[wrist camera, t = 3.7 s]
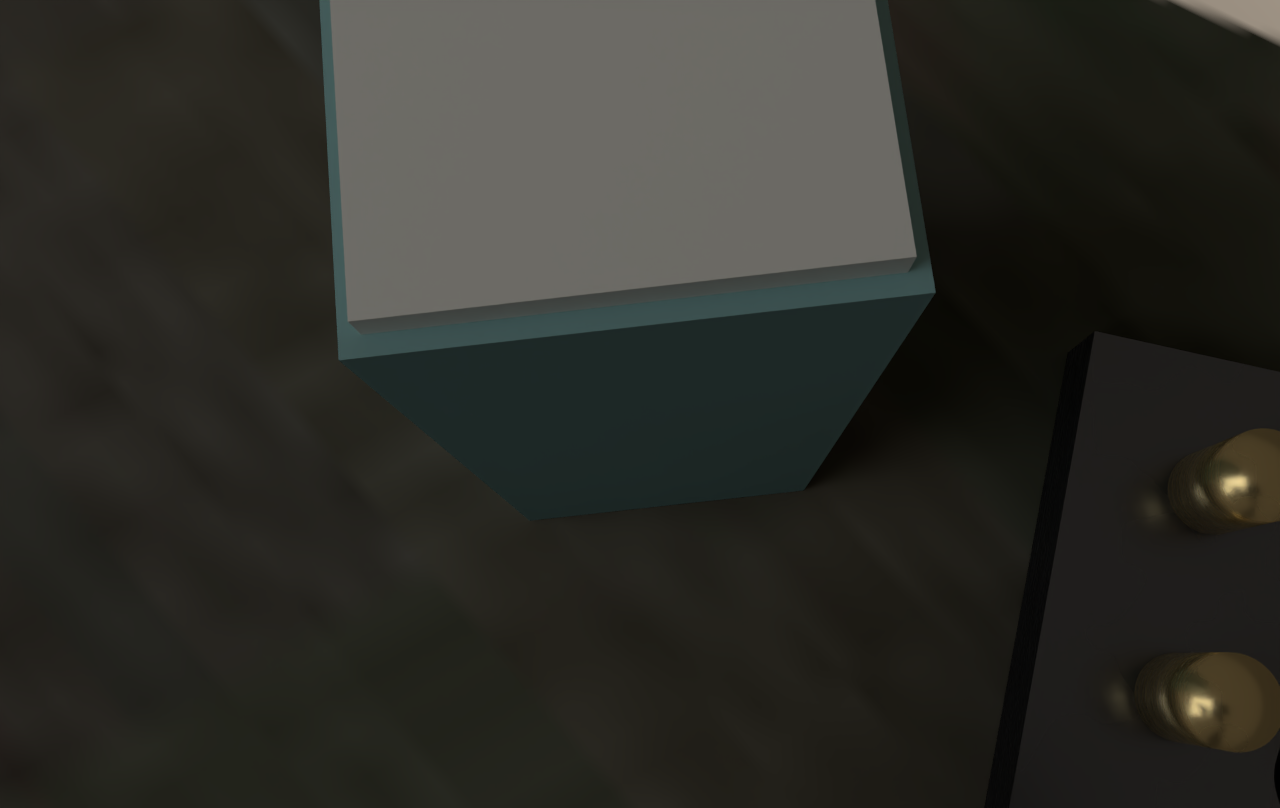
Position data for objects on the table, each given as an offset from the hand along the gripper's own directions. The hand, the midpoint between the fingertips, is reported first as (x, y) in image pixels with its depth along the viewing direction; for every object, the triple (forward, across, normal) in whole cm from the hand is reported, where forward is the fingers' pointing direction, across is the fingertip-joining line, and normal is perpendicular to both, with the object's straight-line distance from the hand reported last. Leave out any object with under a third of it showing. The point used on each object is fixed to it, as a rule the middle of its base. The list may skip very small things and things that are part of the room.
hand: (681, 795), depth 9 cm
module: (+13, 0, +4) cm, 14 cm away
